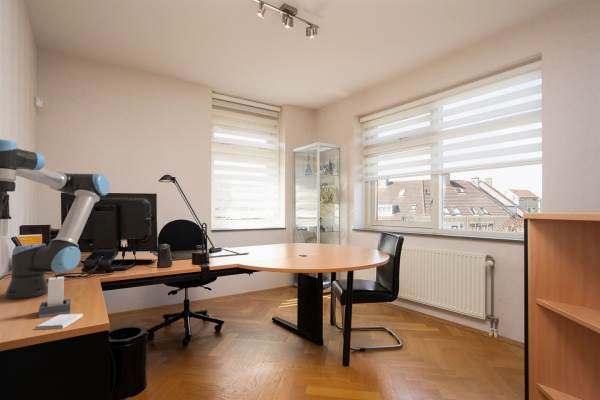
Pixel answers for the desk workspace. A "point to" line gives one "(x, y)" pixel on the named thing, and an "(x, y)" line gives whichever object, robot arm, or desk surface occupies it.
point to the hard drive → (59, 321)
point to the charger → (55, 291)
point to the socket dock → (54, 309)
